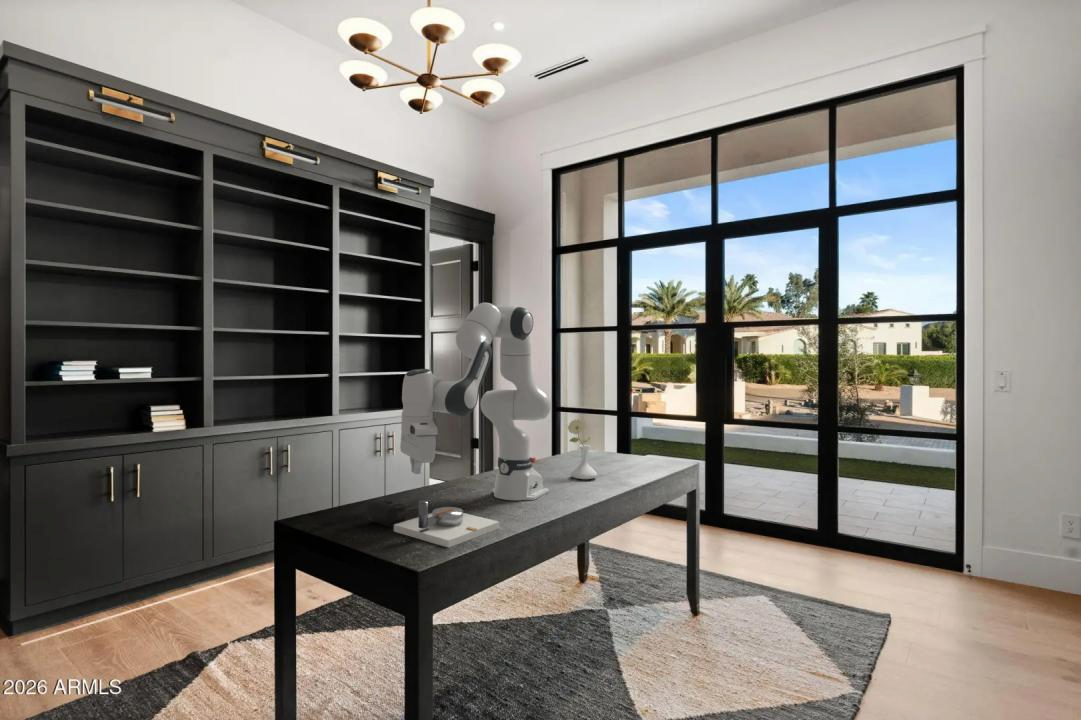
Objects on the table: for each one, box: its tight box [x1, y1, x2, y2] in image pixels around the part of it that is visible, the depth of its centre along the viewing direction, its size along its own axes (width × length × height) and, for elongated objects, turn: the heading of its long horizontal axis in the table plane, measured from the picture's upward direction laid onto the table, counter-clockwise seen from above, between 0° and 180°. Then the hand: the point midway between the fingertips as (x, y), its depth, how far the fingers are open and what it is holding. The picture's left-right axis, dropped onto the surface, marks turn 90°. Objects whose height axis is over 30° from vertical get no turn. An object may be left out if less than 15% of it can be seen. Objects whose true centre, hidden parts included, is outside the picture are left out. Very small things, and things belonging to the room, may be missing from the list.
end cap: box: [366, 499, 406, 529], centre depth 181 cm, size 10×7×7 cm
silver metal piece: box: [418, 500, 464, 528], centre depth 174 cm, size 16×9×8 cm, turn 145°
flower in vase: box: [567, 418, 598, 480], centre depth 250 cm, size 13×11×25 cm
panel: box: [393, 512, 500, 549], centre depth 177 cm, size 22×22×2 cm
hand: (415, 473), depth 171 cm, fingers closed
